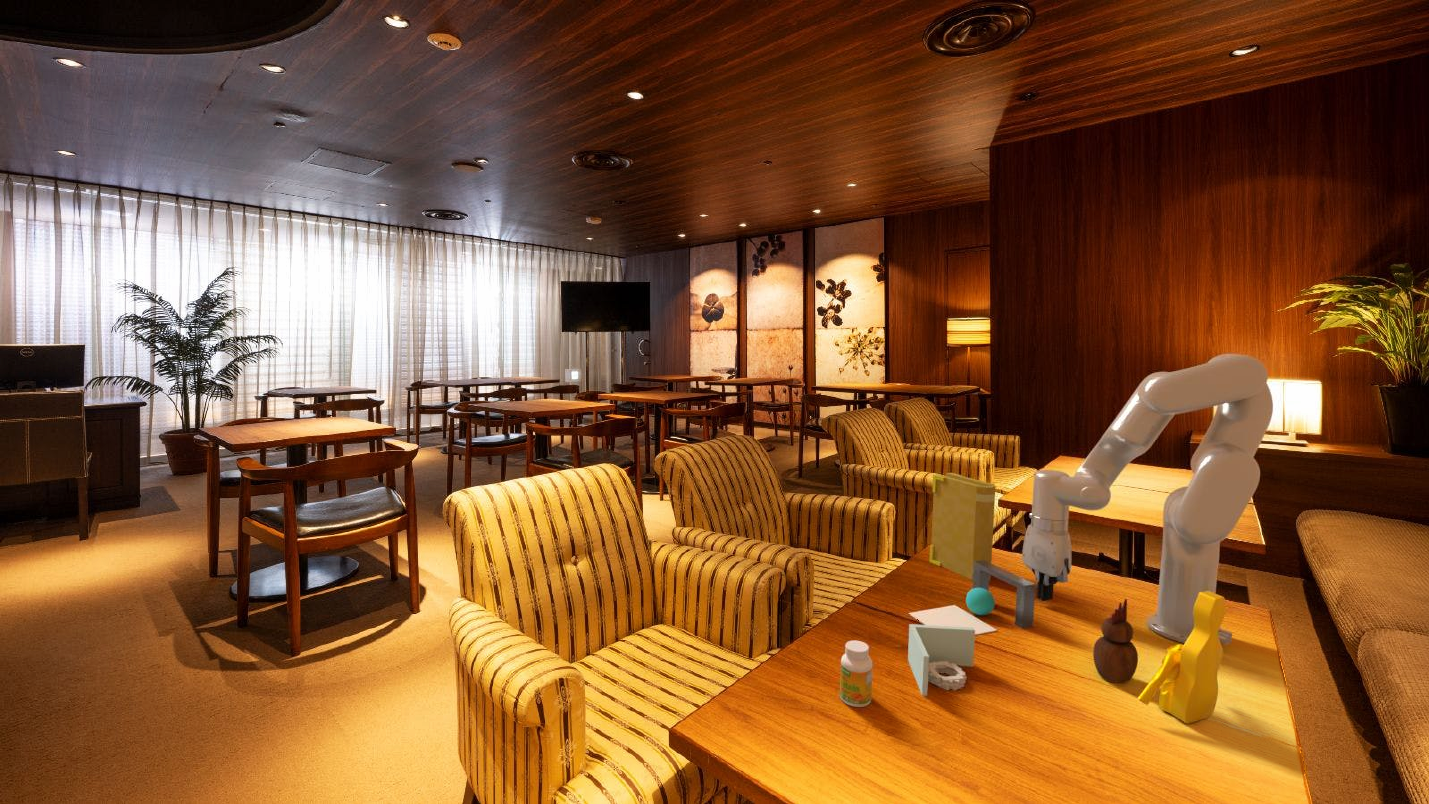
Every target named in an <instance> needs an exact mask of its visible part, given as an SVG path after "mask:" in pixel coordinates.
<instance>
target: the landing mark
mask: <svg viewBox="0 0 1429 804" xmlns="http://www.w3.org/2000/svg"><path fill="white" fill-rule="evenodd" d="M909 614H910V615H909ZM908 615H909V616H910V617H913V619H915V620H917V619H918V620H919V621H918V620H917V621H918V622H920V623H921V624H922V625H934V626H953V627H972V628H974V629H975V636H978V635H984V634H988V633H993V632H997V631H998V629H996V628H995V627H993V626H991V625H989V624H988V623H987V622H984V621H982V620H981V619H979V618H977V617H975V616H974V615H972V614H971V613H969V612H967V611H966V610H964V609H962V608H960V607H958V606H957V605H955V604H953V605H948V606H941V607H937V608H931V609H930V608H929V609H924V610H923V609H922V610H918V611H913V612H908Z"/></svg>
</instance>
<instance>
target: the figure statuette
mask: <svg viewBox="0 0 1429 804" xmlns="http://www.w3.org/2000/svg"><path fill="white" fill-rule="evenodd" d="M1225 615H1226V599H1225V597H1224V596H1222V595H1219V594H1217V593H1213V592H1210V591H1205V592H1200V593H1199V595H1198V597H1197V600H1196V602H1195V605H1194V609H1193V617H1194V629H1193V631H1192V633H1191V634H1190V636H1189V638H1188V639H1187V641H1186V642H1185V643H1182V644H1181V643H1180V644H1175V645H1171V646H1170V647H1168V648H1166V649H1165V650H1166V652H1167V653H1166V654H1165V655H1164V657H1163V659H1162V660H1161V666H1160V667H1159V669H1158V670H1157V671H1156V673H1155V675H1154V676H1153V677H1152V678H1151V680H1150V681H1149V683H1148V684H1147V685H1146V687H1144V689H1143V690H1142V692H1141V693H1140V694H1139V696H1138V697H1137V700H1139V701H1140V702H1142V703H1143V704H1145V706H1148V705H1149V704H1150V702H1151V701H1152V699H1153V697H1154V696H1155V695H1156V693H1157V692H1158V691H1159V689H1160V691H1159V699H1158V706H1159V708H1160V709H1161V710H1162V711H1164V712H1165V713H1166V712H1167V713H1169V714H1171V715H1172V716H1174V717H1176V718H1177V719H1178V720H1180V721H1181V722H1183V723H1185V724H1191V723H1194V722H1197V721H1201V720H1204V719H1207V718H1209V717H1211V716H1212V715H1213V713H1214V711H1215V708H1216V705H1217V701H1218V694H1219V683H1218V672H1219V670H1220V666H1221V663H1222V660H1223V654H1224V649H1223V645H1222V643H1221V642H1220V640H1219V637H1218V630H1219V628H1220V629H1221V626H1222V623H1223V621H1224V617H1225Z"/></svg>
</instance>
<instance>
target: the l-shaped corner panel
mask: <svg viewBox="0 0 1429 804" xmlns="http://www.w3.org/2000/svg"><path fill="white" fill-rule="evenodd" d="M975 637H976V635H975V629H974V628H972V627H953V626H934V625H924V624H915V623H914V624H913V623H912V624H911V623H910V624H909V623H908V645H907V646H908V649H907V651H908V652H907V653H908V654H907V661H908V663H909V666H910V669H911V671H912V674H913V676H914V678H915V681H916V684H917V687H918V689H919V691H920V694H921V696H923V697H928V687H929V686H928V685H929V683H931V684H933V685H935V686H937V687H938V688H940V689H944V690H945V691H949V690H951V689H953V690H952V691H954V692H955V691H956V690H958V689H959V690H961V689H962V688H965V687H964V686H965V684H966V682H967V676H966V672H965V671H963V668H962V667H972V668H973V667H974V658H975V656H974V655H975V643H976V642H975V641H976V640H975ZM958 665H959V666H958ZM939 673H941V674H939ZM942 673H946V674H945V675H947V674H948V675H947V676H943V674H942ZM949 675H951V676H949Z"/></svg>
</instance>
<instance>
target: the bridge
mask: <svg viewBox="0 0 1429 804" xmlns="http://www.w3.org/2000/svg"><path fill="white" fill-rule="evenodd" d="M990 575H991V577H992V576H993V577H995V578H997V579H998V580H1000V581H1002V582H1005V583H1007V584H1009V585H1011V586H1013V587H1015V588H1016V602H1015V603H1016V604H1015V615H1014V616H1015V618H1014V620H1015V621H1014V625H1015V626H1017V627H1019V628H1021V630H1023V629H1028V628H1032V627H1034V614H1035V599H1036V583H1034V582H1032V581H1030V580H1027V579H1026V578H1024V577H1022V576H1019V575H1018V574H1015V573H1013V572H1010V571H1008V570H1006V569H1004V568H1002V567H999V566H998V565H995V564H993V563H992V562H991V563H989V562H987V561H985V560H982V561H975V562H974V570H973V580H972V589H974V588H983V589H986V590H987V591H989V592H990V581H989V577H990Z"/></svg>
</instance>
